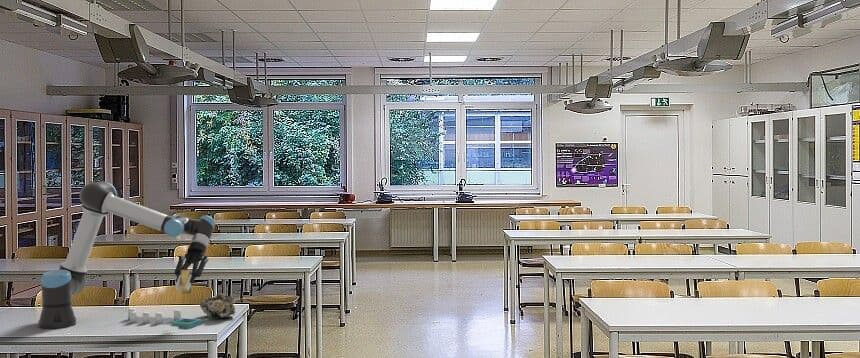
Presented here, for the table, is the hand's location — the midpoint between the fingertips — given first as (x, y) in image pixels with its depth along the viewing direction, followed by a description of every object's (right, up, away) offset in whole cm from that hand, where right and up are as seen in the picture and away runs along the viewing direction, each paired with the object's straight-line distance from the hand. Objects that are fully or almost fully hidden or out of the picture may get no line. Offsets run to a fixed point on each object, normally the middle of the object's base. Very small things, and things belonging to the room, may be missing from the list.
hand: (181, 288), depth 358 cm
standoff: (+1, -2, +4) cm, 5 cm away
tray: (+1, -16, +4) cm, 17 cm away
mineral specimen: (+10, -16, +21) cm, 28 cm away
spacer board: (-16, -16, +11) cm, 26 cm away
